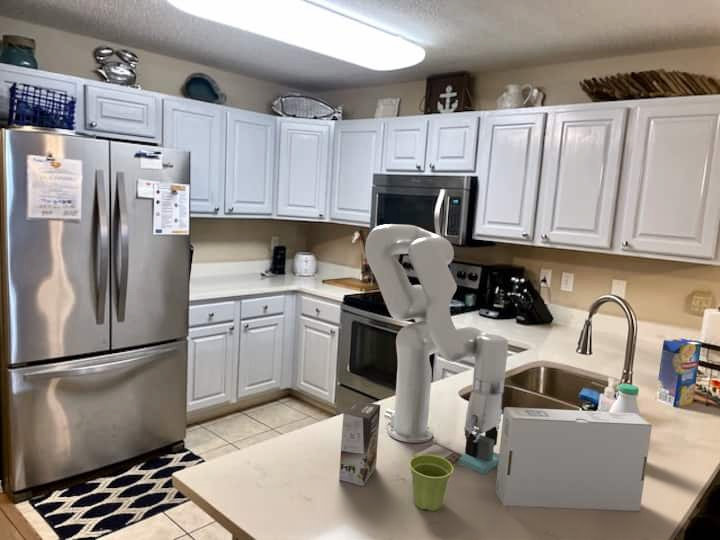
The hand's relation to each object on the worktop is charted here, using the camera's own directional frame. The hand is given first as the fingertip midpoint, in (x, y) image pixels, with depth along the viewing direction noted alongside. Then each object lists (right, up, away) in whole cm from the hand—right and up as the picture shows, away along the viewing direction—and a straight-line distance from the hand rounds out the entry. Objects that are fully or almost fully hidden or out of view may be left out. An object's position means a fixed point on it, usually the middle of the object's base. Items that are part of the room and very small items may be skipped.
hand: (481, 449), depth 127 cm
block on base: (0, -3, 0) cm, 3 cm away
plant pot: (-16, -5, -19) cm, 25 cm away
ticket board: (-11, -3, 0) cm, 11 cm away
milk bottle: (+39, -5, +8) cm, 40 cm away
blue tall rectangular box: (+82, -2, +53) cm, 98 cm away
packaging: (+16, -7, -14) cm, 22 cm away
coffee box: (-31, -3, -9) cm, 32 cm away
